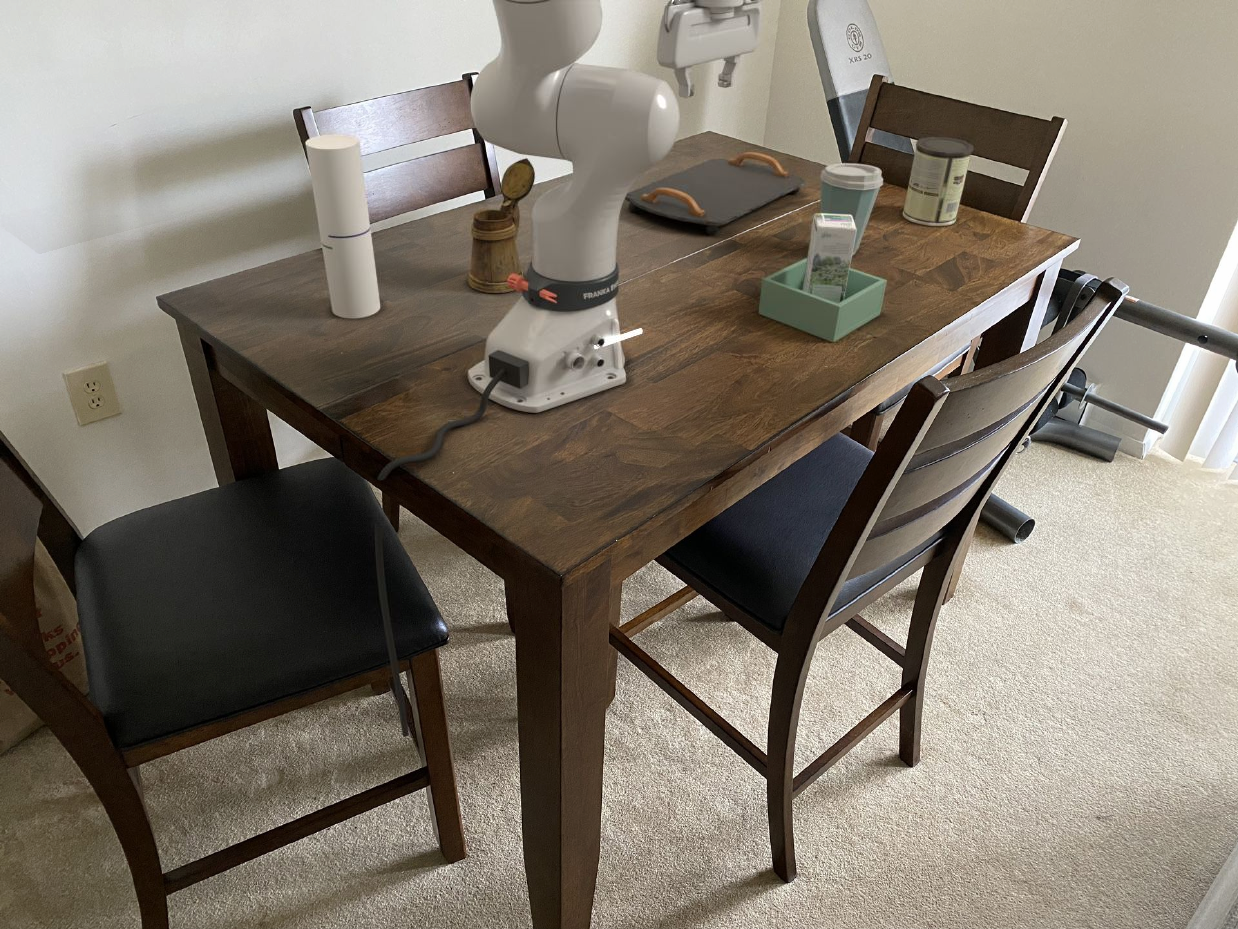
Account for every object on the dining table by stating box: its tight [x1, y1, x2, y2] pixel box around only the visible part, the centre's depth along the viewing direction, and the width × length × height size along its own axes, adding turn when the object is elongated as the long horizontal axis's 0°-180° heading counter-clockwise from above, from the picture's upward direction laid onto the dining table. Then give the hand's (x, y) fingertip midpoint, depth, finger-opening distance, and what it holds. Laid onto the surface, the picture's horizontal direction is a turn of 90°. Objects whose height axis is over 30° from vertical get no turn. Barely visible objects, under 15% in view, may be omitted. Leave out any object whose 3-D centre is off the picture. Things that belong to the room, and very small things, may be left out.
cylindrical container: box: [305, 133, 381, 319], centre depth 136 cm, size 7×7×25 cm
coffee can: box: [902, 136, 974, 227], centre depth 179 cm, size 10×10×14 cm
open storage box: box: [758, 257, 888, 343], centre depth 144 cm, size 14×14×6 cm
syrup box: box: [802, 212, 857, 303], centre depth 141 cm, size 6×6×14 cm
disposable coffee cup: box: [819, 162, 884, 256], centre depth 163 cm, size 11×11×15 cm
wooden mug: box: [467, 157, 536, 294], centre depth 149 cm, size 9×14×18 cm, turn 146°
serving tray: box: [624, 151, 807, 237], centre depth 185 cm, size 39×23×6 cm, turn 142°
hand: (705, 91), depth 141 cm, fingers open, 8 cm apart
